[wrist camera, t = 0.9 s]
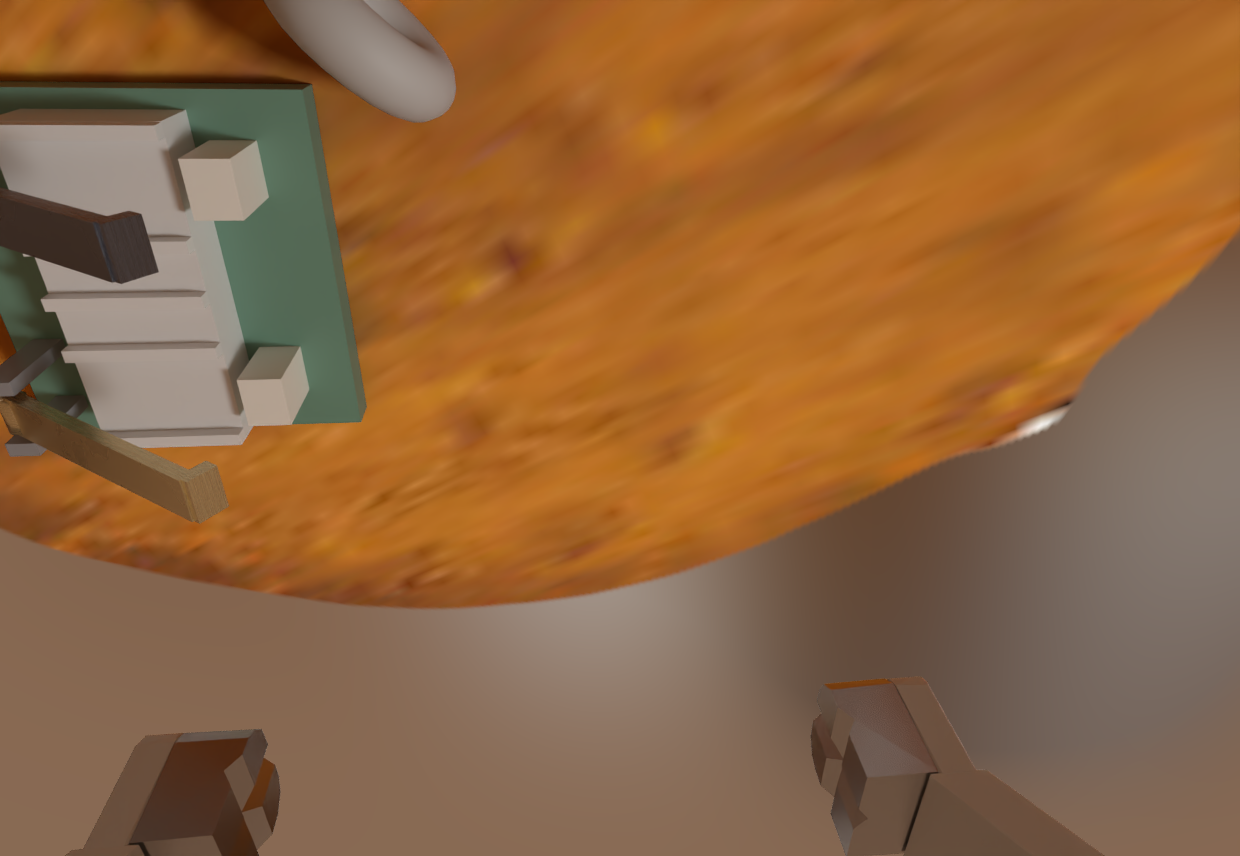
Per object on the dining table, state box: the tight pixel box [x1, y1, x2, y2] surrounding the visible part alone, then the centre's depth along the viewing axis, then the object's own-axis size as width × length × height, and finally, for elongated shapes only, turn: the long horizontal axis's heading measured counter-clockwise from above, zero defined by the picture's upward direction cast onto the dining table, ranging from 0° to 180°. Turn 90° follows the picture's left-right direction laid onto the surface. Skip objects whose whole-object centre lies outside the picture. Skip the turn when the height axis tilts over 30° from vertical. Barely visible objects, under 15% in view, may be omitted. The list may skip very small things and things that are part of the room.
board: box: [0, 81, 367, 456], centre depth 43 cm, size 20×19×8 cm
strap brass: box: [0, 391, 229, 524], centre depth 40 cm, size 2×16×2 cm
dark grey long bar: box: [0, 187, 159, 284], centre depth 34 cm, size 2×16×2 cm
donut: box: [264, 0, 456, 122], centre depth 37 cm, size 10×4×10 cm, turn 46°
